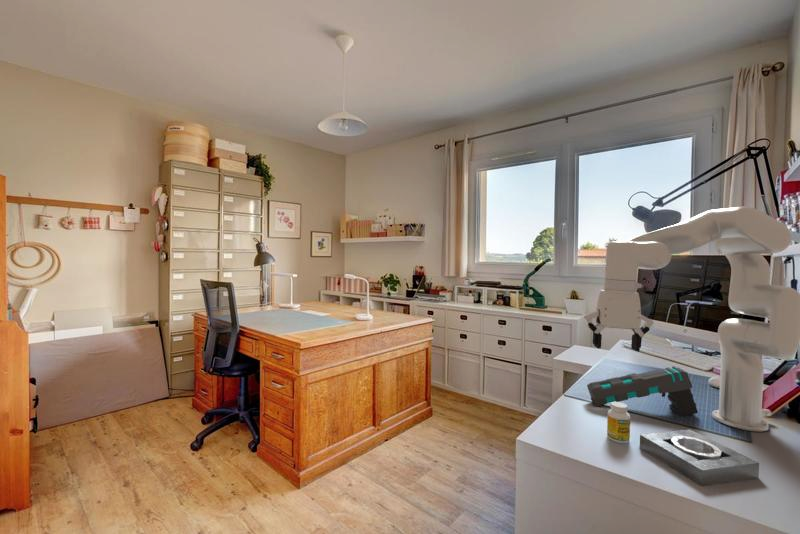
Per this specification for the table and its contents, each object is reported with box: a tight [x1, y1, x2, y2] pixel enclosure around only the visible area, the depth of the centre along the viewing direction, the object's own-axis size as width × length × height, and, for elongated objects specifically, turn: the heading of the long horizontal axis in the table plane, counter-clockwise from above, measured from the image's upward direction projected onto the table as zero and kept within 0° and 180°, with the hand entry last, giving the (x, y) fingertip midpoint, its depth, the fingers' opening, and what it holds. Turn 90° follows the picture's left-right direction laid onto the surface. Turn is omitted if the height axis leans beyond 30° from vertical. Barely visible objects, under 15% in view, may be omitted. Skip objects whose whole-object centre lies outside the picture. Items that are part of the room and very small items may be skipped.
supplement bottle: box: [606, 401, 631, 444], centre depth 99 cm, size 5×5×10 cm
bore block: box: [639, 428, 760, 487], centre depth 89 cm, size 16×16×4 cm
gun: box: [586, 366, 699, 417], centre depth 120 cm, size 7×29×15 cm, turn 78°
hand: (616, 348), depth 99 cm, fingers open, 9 cm apart
